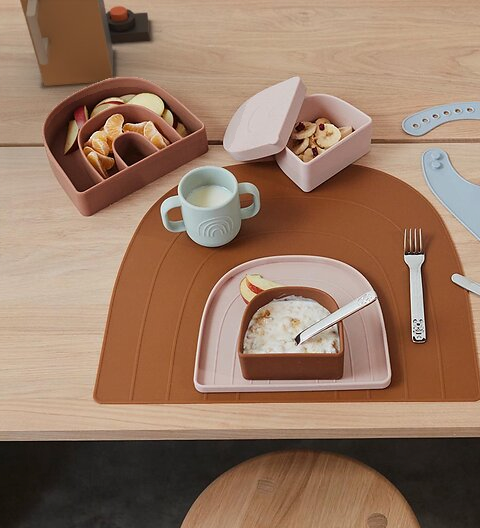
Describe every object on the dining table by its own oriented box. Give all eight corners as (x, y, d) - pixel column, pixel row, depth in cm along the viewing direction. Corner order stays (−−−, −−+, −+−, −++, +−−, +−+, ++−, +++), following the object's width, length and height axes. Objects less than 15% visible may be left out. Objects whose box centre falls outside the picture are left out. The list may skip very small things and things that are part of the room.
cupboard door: (113, 100, 144) (90, -13, 125) (42, 106, 142) (9, -7, 124) (113, 78, 148) (91, -34, 130) (44, 83, 147) (12, -29, 128)
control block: (94, 45, 156) (91, 28, 153) (95, 25, 161) (91, 8, 158) (149, 41, 157) (147, 24, 154) (148, 21, 162) (146, 4, 159)
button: (111, 23, 155) (109, 15, 154) (111, 14, 157) (109, 6, 156) (127, 21, 155) (126, 14, 154) (127, 13, 158) (126, 5, 156)
